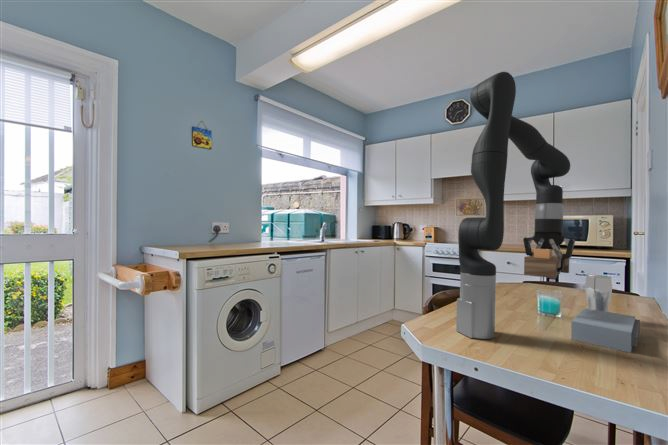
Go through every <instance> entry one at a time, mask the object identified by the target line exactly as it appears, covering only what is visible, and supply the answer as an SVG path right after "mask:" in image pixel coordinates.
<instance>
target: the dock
mask: <svg viewBox="0 0 668 445" xmlns="http://www.w3.org/2000/svg"><path fill="white" fill-rule="evenodd" d="M640 330H641V319H638V318H637V319H636V316H634V315H629V314H622V313H616V312H609V311H608V312H605V311H599V310H593V309H588V307H587V308H586V307H585V308H582V310H581V311H580V312H579V313H578V314H577V315H576V316H575V317H574V318H573V319H572V320H571V330H570V332H571V334H570V338H571V340H573V341H577V342H582V343H586V344H591V345H595V346H600V347H603V348H609V349H613V350H616V351H622V352H625V353H630V354H631V353H632V350H633V347H634V348H635V347H636V348H637V347H638V342H639V335H640Z"/></svg>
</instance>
